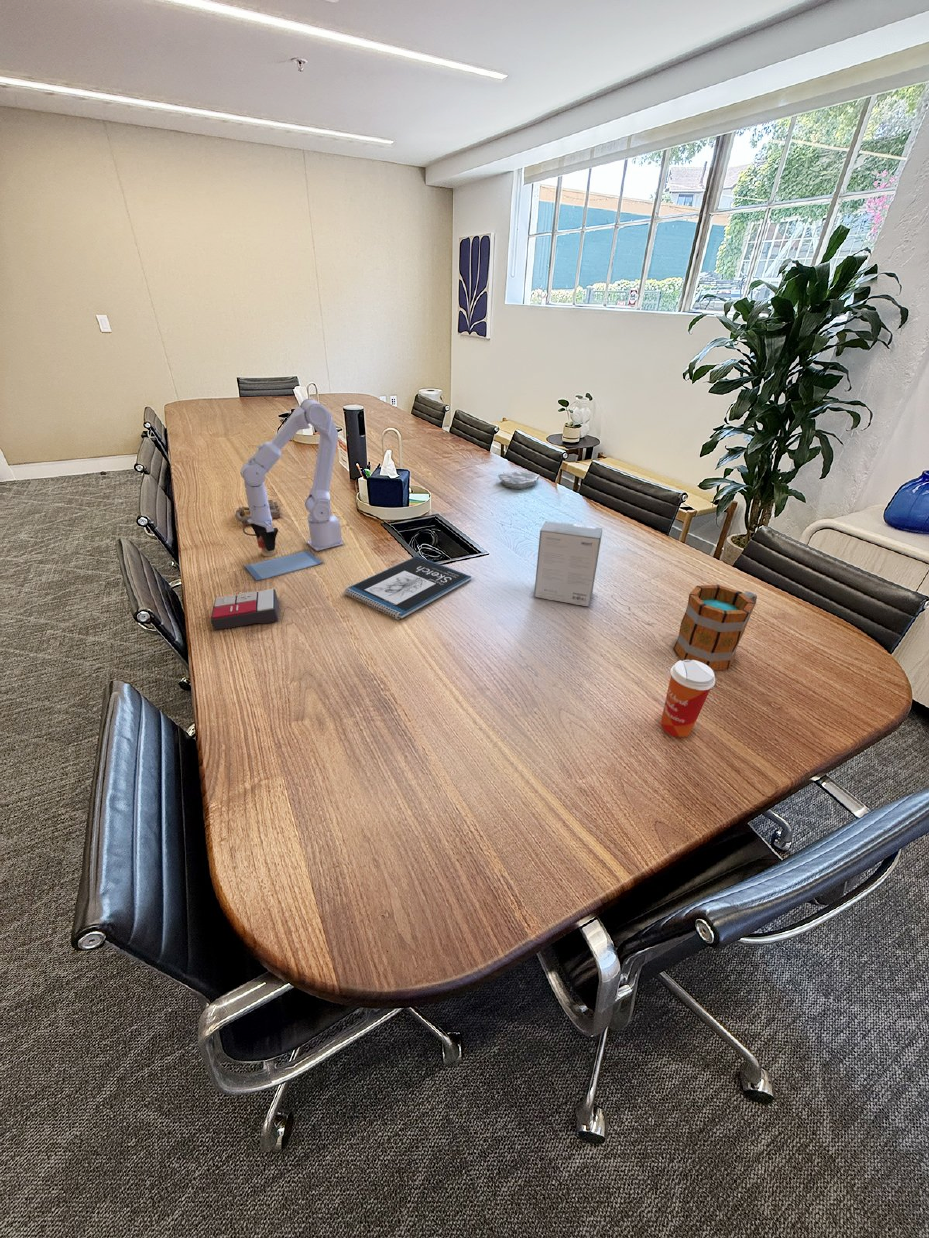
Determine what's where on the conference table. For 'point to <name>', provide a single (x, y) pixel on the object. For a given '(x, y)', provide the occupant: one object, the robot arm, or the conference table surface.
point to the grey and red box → (245, 609)
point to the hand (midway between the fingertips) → (266, 546)
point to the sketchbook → (407, 586)
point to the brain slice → (518, 479)
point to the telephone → (243, 518)
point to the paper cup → (686, 696)
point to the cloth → (282, 565)
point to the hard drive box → (567, 562)
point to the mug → (714, 625)
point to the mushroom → (264, 548)
